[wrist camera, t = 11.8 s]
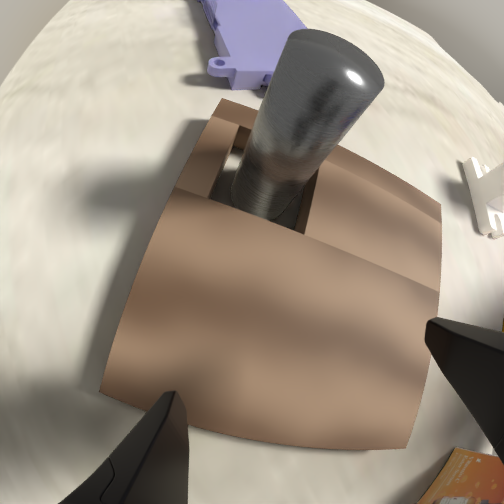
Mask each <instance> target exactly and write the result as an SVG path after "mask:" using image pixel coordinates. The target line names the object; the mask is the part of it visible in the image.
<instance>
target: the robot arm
mask: <svg viewBox="0 0 504 504" xmlns="http://www.w3.org/2000/svg"><path fill="white" fill-rule="evenodd" d="M424 340H425V344H426V346H427V348H428V349H429V351H430V353H431V354H432V356H433V358H434V359H435V361H436V363H437V364H438V366H439V368H440V369H441V371H442V373H443V374H444V376H445V377H446V378H447V380H448V381H449V383H450V384H451V385H452V387H453V388H454V389H455V391H456V392H457V394H458V395H459V397H460V398H461V399H462V401H463V402H464V404H465V405H466V407H467V408H468V409H469V411H470V412H471V414H472V415H473V417H474V418H475V420H476V421H477V423H478V424H479V426H480V427H481V429H482V431H483V432H484V434H485V435H486V437H487V438H488V440H489V442H490V443H491V445H492V446H493V448H495V452H496V453H497V455H498V457H499V458H500V460H501V462H502V463H503V465H504V332H500V331H496V330H491V329H487V328H482V327H478V326H473V325H469V324H465V323H460V322H456V321H452V320H448V319H443V318H439V317H434V318H432V319H430V320H428V321H427V323H426V329H425V337H424ZM188 472H189V438H188V425H187V411H186V407H185V405H184V403H183V401H182V399H181V397H180V395H179V393H178V392H177V391H175V390H172V391H166V392H164V393H163V394H162V395H161V396H160V397H159V399H158V400H157V401H156V402H155V403H154V405H153V406H152V407H151V408H150V409H149V410H148V412H147V413H146V414H145V415H144V416H143V417H142V419H141V420H140V421H139V422H138V423H137V424H136V426H135V427H134V428H133V429H132V430H131V431H130V433H129V434H128V435H127V436H126V437H125V438H124V439H123V441H122V442H121V443H120V444H119V445H118V446H117V447H116V449H115V450H114V451H113V452H112V453H111V454H110V455H109V457H108V458H107V459H106V460H105V461H104V462H103V463H102V464H101V465H100V466H99V468H98V469H97V470H96V471H95V472H94V473H93V474H92V475H91V476H90V477H89V478H88V479H86V480H85V481H84V482H83V483H82V484H81V485H80V486H79V487H78V488H76V489H75V490H74V491H73V492H72V493H71V494H69V495H68V496H67V497H66V498H65V499H64V500H62V501H61V502H60V503H58V504H188Z"/></svg>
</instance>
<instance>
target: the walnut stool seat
mask: <svg viewBox="0 0 504 504" xmlns="http://www.w3.org/2000/svg"><path fill="white" fill-rule="evenodd" d="M258 112H259V111H258V110H255V109H252V108H249V107H247V106H244V105H241V104H238V103H235V102H232V101H229V100H226V99H223V98H222V99H221V101H220V102H219V104H218V106H217V107H216V109H215V111H214V113H213V114H212V116H211V118H210V120H209V121H208V123H207V125H206V127H205V129H204V130H203V132H202V134H201V136H200V138H199V140H198V141H197V143H196V145H195V147H194V149H193V151H192V153H191V155H190V157H189V159H188V160H187V162H186V164H185V166H184V168H183V170H182V172H181V174H180V176H179V178H178V180H177V183H176V185H175V187H174V189H173V191H172V193H171V195H170V197H169V199H168V201H167V204H166V206H165V208H164V210H163V212H162V215H161V217H160V219H159V221H158V224H157V226H156V228H155V231H154V233H153V235H152V238H151V240H150V242H149V245H148V247H147V250H146V252H145V254H144V257H143V259H142V262H141V264H140V267H139V270H138V272H137V275H136V277H135V280H134V283H133V285H132V288H131V291H130V293H129V296H128V299H127V302H126V305H125V308H124V310H123V313H122V316H121V319H120V322H119V325H118V328H117V331H116V335H115V338H114V341H113V344H112V347H111V351H110V354H109V357H108V361H107V364H106V368H105V371H104V375H103V379H102V383H101V386H100V390H99V392H100V393H103V394H105V395H107V396H109V397H112V398H114V399H117V400H119V401H121V402H124V403H126V404H129V405H131V406H134V407H137V408H139V409H142V410H145V411H147V412H148V410H149V409H150V408H151V407H152V406H153V405H154V403H155V402H156V401H157V400H158V399H159V397H160V396H161V395H162V394H163V393H164V392H166V391H172V390H175V391H177V392H178V393H179V395H180V397H181V399H182V401H183V403H184V405H185V407H186V411H187V424H188V425H191V426H195V427H198V428H202V429H206V430H210V431H214V432H218V433H222V434H227V435H231V436H236V437H241V438H246V439H252V440H257V441H263V442H269V443H276V444H284V445H292V446H301V447H311V448H324V449H344V450H384V449H403V448H406V446H407V443H408V440H409V438H410V435H411V432H412V429H413V425H414V422H415V419H416V416H417V412H418V409H419V405H420V402H421V398H422V394H423V390H424V386H425V382H426V377H427V373H428V368H429V363H430V358H431V353H430V351H429V349H428V348H427V346H426V344H425V340H424V337H425V329H426V323H427V321H428V320H430V319H432V318H434V317H437V313H438V304H439V293H440V279H441V258H442V219H441V204H440V203H438V202H437V201H435V200H434V199H432V198H431V197H429V196H428V195H426V194H424V193H423V192H421V191H420V190H418V189H417V188H415V187H413V186H412V185H410V184H409V183H407V182H405V181H404V180H402V179H400V178H399V177H397V176H395V175H393V174H392V173H390V172H388V171H387V170H385V169H383V168H381V167H379V166H378V165H376V164H374V163H372V162H370V161H368V160H367V159H365V158H363V157H361V156H359V155H357V154H355V153H353V152H351V151H349V150H347V149H345V148H343V147H341V146H339V145H337V146H336V147H335V148H334V149H333V151H332V152H331V153H330V154H329V155H328V157H327V158H326V159H325V160H324V162H323V163H322V164H321V165H320V167H319V168H318V169H317V170H316V171H315V173H314V174H313V175H312V176H311V178H310V179H309V180H308V181H307V183H306V184H305V188H304V193H303V197H302V201H301V205H300V209H299V213H298V217H297V221H296V225H295V229H294V230H291V229H288V228H286V227H283V226H281V225H278V224H276V223H273V222H270V221H268V220H265V219H262V218H260V217H257V216H255V215H252V214H249V213H247V212H244V211H241V210H239V209H236V208H233V207H230V206H228V205H225V204H222V203H219V202H217V201H214V200H211V199H210V198H211V196H212V194H213V191H214V189H215V186H216V184H217V182H218V179H219V177H220V175H221V172H222V170H223V168H224V165H225V163H226V161H227V158H228V156H229V154H230V152H231V149H232V147H233V146H234V147H236V148H239V149H242V150H244V149H245V147H246V144H247V141H248V138H249V136H250V133H251V130H252V127H253V125H254V122H255V119H256V117H257V114H258Z"/></svg>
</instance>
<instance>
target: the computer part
mask: <svg viewBox="0 0 504 504" xmlns="http://www.w3.org/2000/svg"><path fill="white" fill-rule="evenodd" d="M200 1H201V3H202V5H203V10H204V12H205V14H206V17H207V19H208V21H209V23H210V26H211V29H213V31H214V33H215V38H214V45H215V47H216V50H217V52H218V55H219V57H213V58H211V59H210V60H209V62H208V68H207V72H208V74H210V75H211V76H214V77H227V79H228V81H229V84H230V87H231V89H232V90H251V89H260V87H261V85H262V86H269V83H270V81H271V78H272V76H273V73H274V71H275V68H276V66H277V63H278V61H279V58H280V56H281V53H282V51H283V49H284V46H285V44H286V41H287V39H288V37H289V35H290V34H291V33H292V32H294V31H296V30H300V29H307V27H306V26H305V25H304V24H303V23H302V21H301V20H300V19H299V18H298V17H297V15H296V14H295V13H294V12H293V11H292V10H291V9H290V8H289V6H288V5H287V4H286V3H285V2H284V1H283V0H197V2H200Z"/></svg>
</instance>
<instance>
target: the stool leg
mask: <svg viewBox="0 0 504 504" xmlns="http://www.w3.org/2000/svg"><path fill="white" fill-rule="evenodd" d="M383 87H384V78H383V75H382V73H381V71H380V69H379V68H378V66H377V65H376V64H375V62H374V61H373V60H372V59H371V58H370V57H369V56H368V55H367V54H365V53H364V52H363V51H362V50H361V49H359V48H358V47H356V46H355V45H353V44H352V43H350V42H348V41H346V40H345V39H343V38H341V37H338V36H336V35H333V34H331V33H328V32H324V31H320V30H315V29H300V30H296V31H294V32H292V33H291V34H290V35H289V37H288V39H287V41H286V44H285V46H284V49H283V51H282V53H281V56H280V58H279V61H278V63H277V66H276V68H275V71H274V73H273V76H272V78H271V81H270V83H269V86H268V88H267V91H266V93H265V96H264V98H263V101H262V104H261V106H260V109H259V112H258V114H257V117H256V119H255V122H254V125H253V127H252V130H251V133H250V136H249V138H248V141H247V144H246V147H245V149H244V152H243V155H242V158H241V160H240V163H239V166H238V169H237V172H236V175H235V177H234V180H233V183H232V186H231V198H232V201H233V204H234V205H235V207H236V208H237V209H239V210H241V211H244V212H247V213H249V214H252V215H255V216H257V217H260V218H262V219H265V220H268V221H269V220H272V219H275V218H276V217H278V216H279V215H280V214H281V213H282V212H283V211H284V210H285V208H286V207H287V206H288V205H289V203H290V202H291V201H292V200H293V199H294V197H295V196H296V195H297V194H298V192H299V191H300V190H301V189H302V187H303V186H304V185H305V184H306V183H307V181H308V180H309V179H310V178H311V176H312V175H313V174H314V173H315V171H316V170H317V169H318V168H319V167H320V165H321V164H322V163H323V162H324V160H325V159H326V158H327V157H328V155H329V154H330V153H331V152H332V151H333V149H334V148H335V147H336V146H337V144H338V143H339V142H340V141H341V139H342V138H343V137H344V136H345V135H346V133H347V132H348V131H349V130H350V128H351V127H352V126H353V125H354V123H355V122H356V121H357V120H358V119H359V117H360V116H361V115H362V114H363V112H364V111H365V110H366V109H367V107H368V106H369V105H370V104H371V103H372V101H373V100H374V99H375V98H376V96H377V95H378V94H379V93H380V92H381V90H382V89H383Z"/></svg>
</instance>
